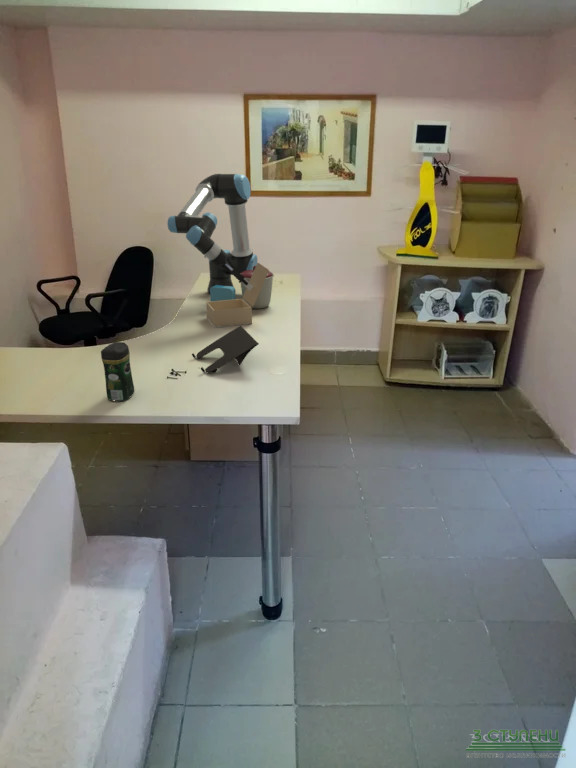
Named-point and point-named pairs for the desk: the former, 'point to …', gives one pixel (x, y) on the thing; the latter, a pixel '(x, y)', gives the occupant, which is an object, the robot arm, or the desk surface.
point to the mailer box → (229, 313)
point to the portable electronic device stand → (229, 348)
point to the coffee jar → (117, 371)
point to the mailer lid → (256, 283)
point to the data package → (222, 293)
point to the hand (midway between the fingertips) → (251, 288)
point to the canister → (264, 293)
